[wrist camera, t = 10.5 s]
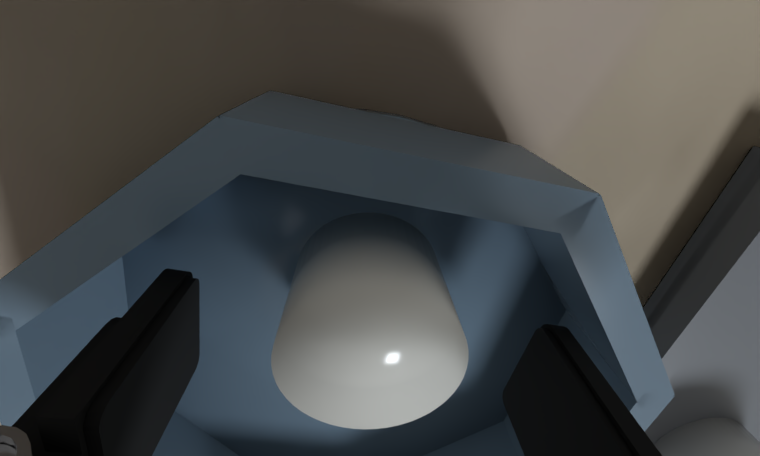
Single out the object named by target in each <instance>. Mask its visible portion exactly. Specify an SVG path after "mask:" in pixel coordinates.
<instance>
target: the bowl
mask: <svg viewBox="0 0 760 456" xmlns="http://www.w3.org/2000/svg"><path fill="white" fill-rule="evenodd" d="M355 213H382V214H387V215H391V216H394V217H397V218H400V219H402V220H404V221H406V222H408V223H410V224H411V225H413V226H414V227H415V228H417V229H418V230H419V231H420V232H421V233H422V234H423V235H424V236H425V237H426V238H427V240H428V241H429V242H430V244H431V246H432V248H433V249H434V252H435V255H436V257H437V260H438V263H439V266H440V268H441V271H442V274H443V277H444V279H445V282H446V285H447V288H448V290H449V293H450V296H451V299H452V301H453V304H454V307H455V310H456V312H457V315H458V318H459V321H460V323H461V326H462V329H463V332H464V334H465V337H466V340H467V345H468V350H469V356H468V365H467V370H466V372H465V375H464V378H463V380H462V381H461V383H460V385H459V387H458V388H457V389H456V391H455V392H454V393H453V394H452V395H451V396H450V397H449V398H448V400H447V401H445V402H444V403H443V404H442V405H440V406H439V407H438V408H436V409H435V410H433V411H432V412H430V413H428V414H427V415H425V416H423V417H421V418H418V419H416V420H413V421H411V422H408V423H405V424H401V425H398V426H393V427H388V428H380V429H351V428H344V427H339V426H334V425H330V424H327V423H324V422H321V421H319V420H317V419H314V418H312V417H310V416H308V415H307V414H305V413H303V412H301V411H300V410H299V409H297V408H296V407H295V406H293V405H292V404H291V403H290V402H289V401H288V400H287V399H286V398H285V396H284V395H283V394H282V392H281V391H280V389H279V388H278V386H277V384H276V382H275V379H274V376H273V373H272V367H271V354H272V349H273V345H274V341H275V338H276V334H277V331H278V327H279V324H280V320H281V317H282V314H283V310H284V307H285V303H286V300H287V296H288V293H289V289H290V286H291V283H292V279H293V276H294V272H295V269H296V265H297V262H298V258H299V256H300V253H301V251H302V249H303V247H304V245H305V244H306V242H307V241H308V240H309V238H310V237H311V236H312V235H313V234H314V233H315V232H316V231H317V230H318V229H320V228H321V227H323V226H324V225H325V224H327V223H329V222H331V221H333V220H335V219H337V218H340V217H343V216H346V215H350V214H355ZM167 268H169V269H175V270H182V271H189V272H191V273H192V275H193V278H197V279H199V284H200V356H199V362H198V365H197V368H196V370H195V372H194V374H193V376H192V378H191V380H190V382H189V384H188V386H187V388H186V390H185V392H184V394H183V396H182V398H181V400H180V402H179V404H178V406H177V407H176V409H175V411H174V413H173V415H172V417H171V419H170V421H169V423H168V425H167V427H166V429H165V431H164V433H163V435H162V437H161V439H160V441H159V443H158V445H157V447H156V449H155V451H154V453H153V455H152V456H524V453H523V451H522V448H521V446H520V443H519V441H518V438H517V436H516V433H515V431H514V428H513V426H512V423H511V421H510V419H509V416H508V414H507V411H506V409H505V406H504V403H503V391H504V388H505V386H506V385H507V383H508V381H509V379H510V377H511V375H512V373H513V371H514V370H515V368H516V366H517V364H518V362H519V360H520V358H521V356H522V355H523V353H524V351H525V349H526V347H527V345H528V343H529V342H530V340H531V338H532V336H533V334H534V332H535V331H536V329H538V328H541V326H542V325H544V324H551V325H558V326H564V327H567V328H568V329H569V330H570V332H571V333H572V334H573V336H574V337H575V338H576V340H577V341H578V342H579V344H580V345H581V346H582V348H583V349H584V351H585V352H586V353H587V355H588V356H589V357H590V359H591V360H592V361H593V363H594V364H595V365H596V367H597V368H598V369H599V371H600V372H601V374H602V375H603V376H604V378H605V379H606V380H607V382H608V383H609V384H610V386H611V387H612V388H613V390H614V391H615V392H616V394H617V395H618V397H619V398H620V399H621V401H622V402H623V403H624V405H625V406H626V407H627V409H628V410H629V411H630V413H631V414H632V415H633V417H634V418H635V419H636V421H637V422H638V424H639V425H640V426H641V428H642V429H643V430H644V432H645V431H646V430H647V428H648V427H649V426H650V425H651V424H652V422H653V421H654V420H655V419H656V418H657V416H658V415H659V414H660V413H661V412H662V411H663V409H664V408H665V407H666V406H667V405H668V403H669V402H670V401H671V400H672V399H673V398H674V395H675V394H674V392H673V389H672V386H671V384H670V381H669V378H668V376H667V373H666V370H665V367H664V365H663V362H662V359H661V357H660V354H659V351H658V348H657V346H656V343H655V340H654V338H653V335H652V332H651V330H650V327H649V324H648V321H647V319H646V316H645V313H644V311H643V308H642V305H641V303H640V300H639V297H638V294H637V292H636V289H635V286H634V284H633V281H632V278H631V276H630V273H629V270H628V267H627V265H626V262H625V259H624V257H623V254H622V251H621V249H620V246H619V243H618V240H617V238H616V235H615V232H614V230H613V227H612V224H611V221H610V219H609V216H608V213H607V211H606V208H605V205H604V203H603V200H602V197H601V195H600V194H599V193H597V192H596V191H594V190H592V189H591V188H589V187H587V186H586V185H584V184H582V183H581V182H579V181H578V180H576V179H574V178H573V177H571V176H569V175H568V174H566V173H564V172H563V171H561V170H560V169H558V168H556V167H555V166H553V165H551V164H550V163H548V162H546V161H545V160H543V159H542V158H540V157H538V156H537V155H535V154H533V153H532V152H530V151H528V150H527V149H525V148H524V147H522V146H520V145H516V144H511V143H507V142H502V141H498V140H493V139H489V138H484V137H480V136H475V135H471V134H466V133H461V132H457V131H452V130H448V129H443V128H440V127H438V126H435V125H432V124H429V123H426V122H422V121H419V120H415V119H412V118H409V117H405V116H402V115H398V114H391V113H385V112H378V111H371V110H365V109H352V108H348V107H343V106H339V105H334V104H330V103H325V102H321V101H316V100H311V99H307V98H302V97H298V96H293V95H289V94H284V93H280V92H275V91H268V92H266V93H264V94H262V95H260V96H258V97H256V98H254V99H252V100H249V101H247V102H245V103H243V104H241V105H239V106H237V107H235V108H233V109H231V110H229V111H227V112H225V113H223V114H221V115H219V116H217V117H216V118H214V119H213V120H212V121H210V122H209V123H208V124H206V125H205V126H204V127H203V128H201V129H200V130H199V131H197V132H196V133H195V134H193V135H192V136H191V137H189V138H188V139H187V140H185V141H184V142H183V143H181V144H180V145H179V146H177V147H176V148H175V149H173V150H172V151H171V152H169V153H168V154H167V155H165V156H164V157H163V158H161V159H160V160H159V161H157V162H156V163H155V164H153V165H152V166H151V167H149V168H148V169H147V170H145V171H144V172H143V173H141V174H140V175H139V176H137V177H136V178H135V179H133V180H132V181H131V182H129V183H128V184H127V185H125V186H124V187H123V188H121V189H120V190H119V191H117V192H116V193H115V194H113V195H112V196H111V197H109V198H108V199H107V200H105V201H104V202H103V203H101V204H100V205H99V206H97V207H96V208H95V209H93V210H92V211H91V212H89V213H88V214H87V215H85V216H84V217H83V218H81V219H80V220H79V221H77V222H76V223H75V224H73V225H72V226H71V227H69V228H68V229H67V230H65V231H64V232H63V233H61V234H60V235H59V236H57V237H56V238H55V239H53V240H52V241H51V242H49V243H48V244H47V245H45V246H44V247H43V248H41V249H40V250H39V251H37V252H36V253H35V254H33V255H32V256H31V257H30V258H28V259H27V260H26V261H24V262H23V263H22V264H20V265H19V266H18V267H16V268H15V269H14V270H12V271H11V272H10V273H8V274H7V275H6V276H4V277H3V278H2V279H0V422H1V425H5V426H11V427H12V425H13V424H14V423H15V422H16V421H17V420H18V419H19V418H20V417H21V416H22V415H23V413H24V412H25V411H26V410H27V409H28V408H29V407H30V406H31V405H32V404H33V403H34V402H35V400H36V399H37V398H38V397H39V396H40V395H41V394H42V393H43V392H44V391H45V390H46V388H47V387H48V386H49V385H50V384H51V383H52V382H53V381H54V380H55V379H56V378H57V376H58V375H59V374H60V373H61V372H62V371H63V370H64V369H65V368H66V367H67V366H68V364H69V363H70V362H71V361H72V360H73V359H74V358H75V357H76V356H77V355H78V354H79V352H80V351H81V350H82V349H83V348H84V347H85V346H86V345H87V344H88V343H89V342H90V340H91V339H92V338H93V337H94V336H95V335H96V334H97V333H98V332H99V331H100V330H101V329H102V327H103V326H104V325H105V324H106V323H107V322H109V321H110V320H111V319H113V318H115V317H120V318H122V317H123V316H124V314H125V313H126V312H127V311H128V310H129V309H130V308H131V307H132V305H133V304H134V303H135V302H136V301H137V300H138V299H139V297H140V296H141V295H142V294H143V293H144V292H145V291H146V289H147V288H148V287H149V286H150V285H151V284H152V283H153V282H154V280H155V279H156V278H157V277H158V276H159V275H160V274H161V272H162V271H163V270H165V269H167Z"/></svg>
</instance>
